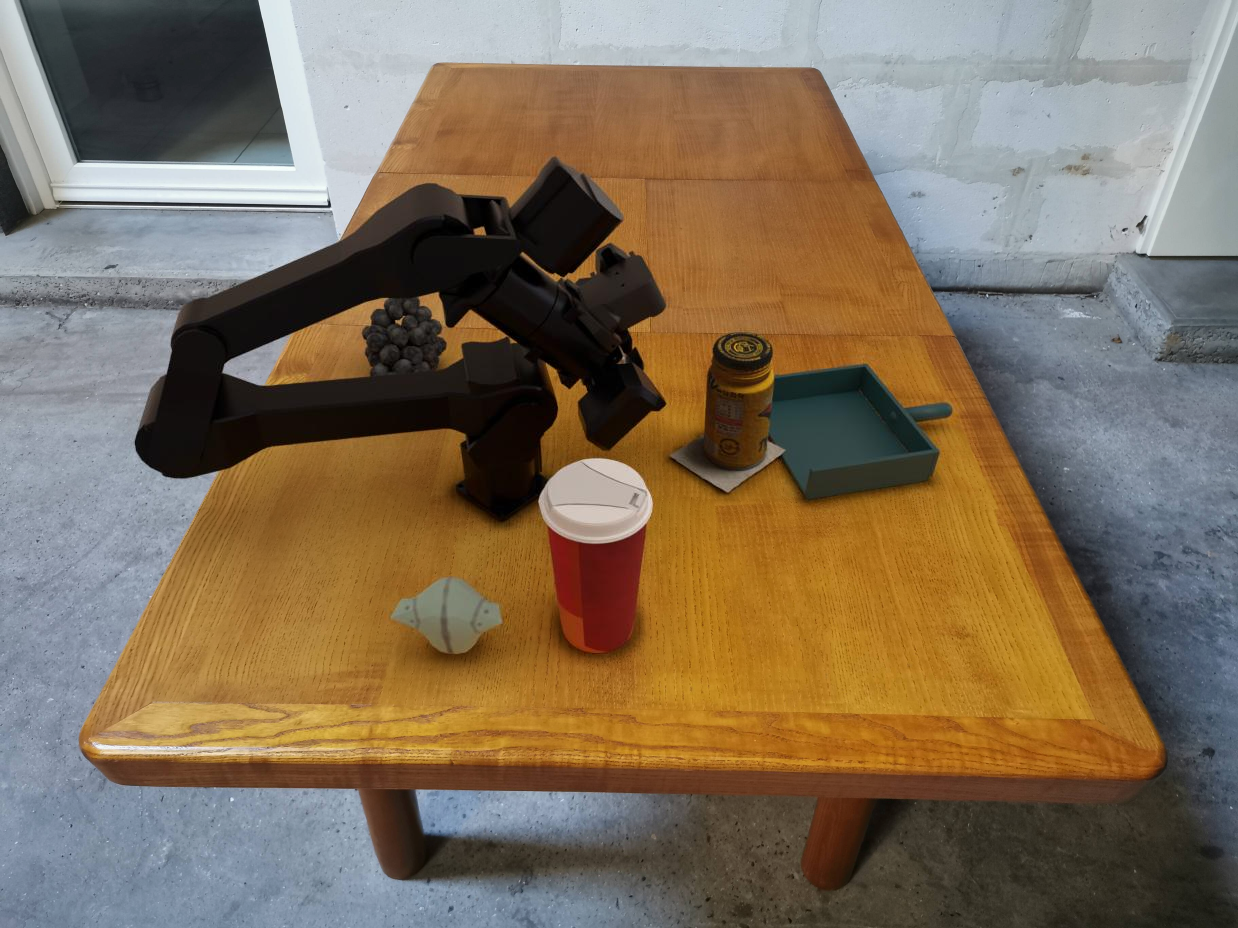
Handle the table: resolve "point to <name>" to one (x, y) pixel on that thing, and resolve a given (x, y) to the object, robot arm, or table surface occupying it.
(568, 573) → the paper cup
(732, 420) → the condiment
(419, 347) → the fruit
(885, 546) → the table surface
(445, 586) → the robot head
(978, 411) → the table surface
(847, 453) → the teal dustpan
